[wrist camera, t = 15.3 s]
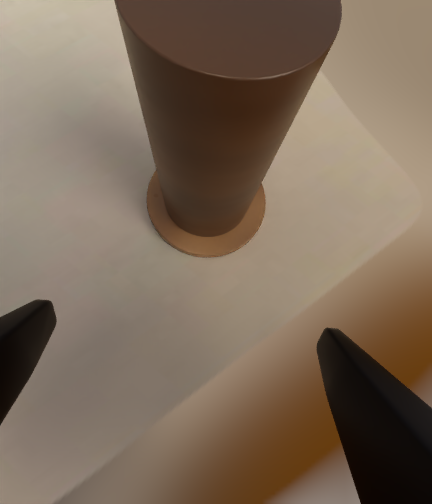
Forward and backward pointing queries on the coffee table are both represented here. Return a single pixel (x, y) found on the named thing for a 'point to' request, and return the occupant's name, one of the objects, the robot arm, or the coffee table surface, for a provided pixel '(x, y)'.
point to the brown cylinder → (221, 94)
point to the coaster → (197, 243)
